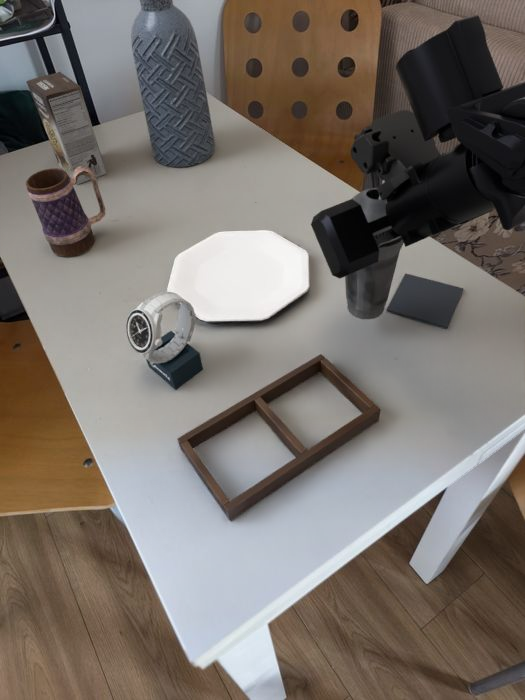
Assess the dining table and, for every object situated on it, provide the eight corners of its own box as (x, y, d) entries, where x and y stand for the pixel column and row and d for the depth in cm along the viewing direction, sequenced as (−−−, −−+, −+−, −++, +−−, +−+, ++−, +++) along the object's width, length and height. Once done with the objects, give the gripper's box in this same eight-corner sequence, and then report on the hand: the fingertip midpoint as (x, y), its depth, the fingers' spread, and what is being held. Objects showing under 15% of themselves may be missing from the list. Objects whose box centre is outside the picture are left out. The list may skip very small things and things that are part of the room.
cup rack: (379, 420, 57) (381, 408, 55) (230, 522, 50) (227, 512, 48) (320, 365, 62) (321, 353, 61) (180, 449, 56) (176, 438, 54)
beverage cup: (326, 296, 65) (330, 142, 51) (379, 281, 67) (397, 127, 52) (350, 334, 61) (362, 176, 46) (407, 318, 62) (435, 159, 47)
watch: (135, 375, 63) (110, 310, 55) (186, 340, 67) (169, 273, 59) (163, 400, 61) (140, 335, 52) (214, 362, 64) (200, 295, 56)
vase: (224, 140, 104) (203, -31, 83) (201, 171, 96) (171, -9, 75) (170, 136, 107) (135, -30, 86) (143, 165, 99) (98, -9, 78)
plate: (161, 329, 69) (158, 321, 67) (183, 240, 82) (181, 232, 81) (310, 326, 67) (310, 318, 66) (308, 236, 80) (308, 228, 79)
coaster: (463, 290, 70) (463, 288, 69) (447, 329, 65) (448, 327, 65) (404, 275, 72) (405, 273, 72) (386, 311, 68) (386, 309, 68)
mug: (53, 263, 80) (21, 194, 71) (49, 238, 85) (19, 170, 76) (118, 245, 82) (95, 176, 73) (111, 222, 87) (89, 154, 78)
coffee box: (58, 167, 101) (24, 80, 89) (88, 156, 103) (60, 69, 91) (76, 186, 96) (43, 95, 84) (108, 173, 98) (80, 84, 86)
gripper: (504, 65, 45) (403, 142, 59) (324, 126, 39) (262, 194, 54) (550, 186, 45) (439, 233, 60) (380, 262, 40) (304, 292, 55)
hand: (364, 235), depth 57 cm, fingers closed on beverage cup, 7 cm apart
